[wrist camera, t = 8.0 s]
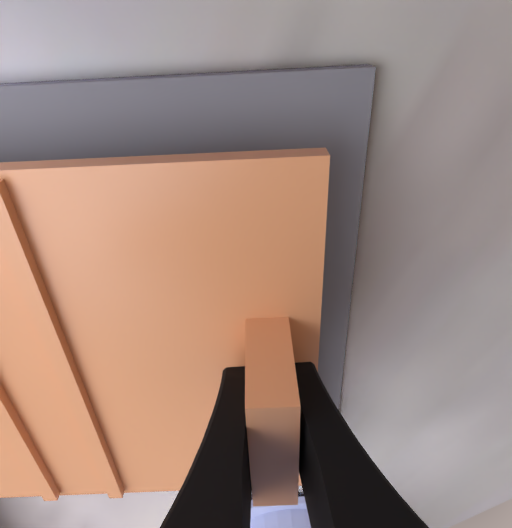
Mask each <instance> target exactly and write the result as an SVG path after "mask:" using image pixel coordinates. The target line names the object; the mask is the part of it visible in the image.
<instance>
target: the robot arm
mask: <svg viewBox="0 0 512 528" xmlns="http://www.w3.org/2000/svg"><path fill="white" fill-rule="evenodd" d="M295 369H296V376H297V383H298V391H299V398H300V406H301V410H300V447H299V474H300V479H301V484H302V488H303V493H304V496H300V497H298V505H280V506H255V507H253V500H251V493H252V487H251V475H250V463H249V452H248V440H247V428H246V416H245V366H239V367H226V368H225V369H224V370H223V372H222V379H221V384H220V388H219V392H218V396H217V399H216V402H215V406H214V409H213V412H212V415H211V418H210V420H209V423H208V426H207V429H206V432H205V434H204V437H203V440H202V442H201V444H200V447H199V449H198V451H197V454H196V456H195V458H194V461H193V463H192V465H191V468H190V470H189V472H188V474H187V476H186V479H185V481H184V483H183V485H182V487H181V489H180V491H179V493H178V495H177V497H176V499H175V501H174V503H173V505H172V507H171V508H170V510H169V512H168V514H167V516H166V518H165V519H164V521H163V523H162V525H161V527H160V528H429V527H428V526H427V525H426V524H425V523H424V522H423V521H422V520H421V519H420V518H419V517H418V516H417V514H416V513H415V512H414V511H413V510H412V509H411V508H410V506H409V505H408V504H407V503H406V502H405V501H404V499H403V498H402V497H401V496H400V495H399V494H398V492H397V491H396V490H395V489H394V487H393V486H392V485H391V484H390V483H389V481H388V480H387V479H386V478H385V476H384V475H383V474H382V473H381V471H380V470H379V469H378V467H377V466H376V465H375V463H374V462H373V461H372V459H371V458H370V457H369V455H368V454H367V452H366V451H365V450H364V448H363V447H362V445H361V444H360V443H359V441H358V440H357V438H356V437H355V435H354V434H353V432H352V431H351V429H350V428H349V426H348V425H347V423H346V422H345V420H344V418H343V417H342V415H341V414H340V412H339V410H338V409H337V407H336V405H335V404H334V402H333V400H332V399H331V397H330V395H329V393H328V391H327V390H326V388H325V386H324V384H323V382H322V380H321V378H320V376H319V374H318V372H317V370H316V367H315V365H314V364H313V363H312V362H298V363H295Z"/></svg>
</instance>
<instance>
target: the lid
mask: <svg viewBox="0 0 512 528" xmlns="http://www.w3.org/2000/svg"><path fill="white" fill-rule="evenodd" d="M329 167H330V154H329V152H328V151H327V149H326V147H325V148H303V149H281V150H259V151H237V152H216V153H194V154H172V155H150V156H129V157H107V158H85V159H63V160H42V161H20V162H0V498H6V497H31V496H42V498H43V500H44V501H54V500H58V497H59V495H80V494H105V493H107V494H108V496H109V498H123V494H124V493H129V492H154V491H179V490H180V489H181V487H182V485H183V483H184V481H185V479H186V476H187V474H188V472H189V470H190V468H191V465H192V463H193V461H194V458H195V456H196V454H197V451H198V449H199V447H200V444H201V442H202V440H203V437H204V434H205V432H206V429H207V426H208V423H209V420H210V418H211V415H212V412H213V409H214V406H215V402H216V399H217V396H218V392H219V388H220V384H221V379H222V372H223V370H224V369H225V368H226V367H239V366H245V416H246V428H247V440H248V452H249V463H250V475H251V487H252V499H253V507H255V506H280V505H298V486H302V484H301V479H300V474H299V447H300V410H301V406H300V398H299V391H298V383H297V376H296V369H295V363H298V362H312V363H313V364H314V365H315V367H316V370H317V372H318V358H319V341H320V324H321V306H322V289H323V272H324V254H325V237H326V220H327V202H328V185H329Z"/></svg>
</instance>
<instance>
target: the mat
mask: <svg viewBox="0 0 512 528" xmlns="http://www.w3.org/2000/svg"><path fill="white" fill-rule="evenodd" d="M375 71H376V67H375V66H372V65H351V66H332V67H313V68H293V69H274V70H255V71H236V72H217V73H197V74H178V75H159V76H140V77H121V78H101V79H82V80H63V81H44V82H25V83H5V84H0V162H20V161H42V160H63V159H85V158H107V157H129V156H150V155H172V154H194V153H216V152H237V151H259V150H281V149H303V148H325V147H326V149H327V151H328V152H329V154H330V167H329V185H328V202H327V220H326V237H325V254H324V272H323V289H322V306H321V324H320V341H319V358H318V374H319V376H320V378H321V380H322V382H323V384H324V386H325V388H326V390H327V391H328V393H329V395H330V397H331V399H332V400H333V402H334V404H335V405H336V407H337V409H338V410H339V405H340V396H341V386H342V377H343V368H344V359H345V349H346V340H347V331H348V321H349V312H350V303H351V294H352V284H353V275H354V266H355V256H356V247H357V238H358V229H359V219H360V210H361V201H362V191H363V182H364V173H365V164H366V154H367V145H368V136H369V126H370V117H371V108H372V99H373V89H374V80H375Z"/></svg>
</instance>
